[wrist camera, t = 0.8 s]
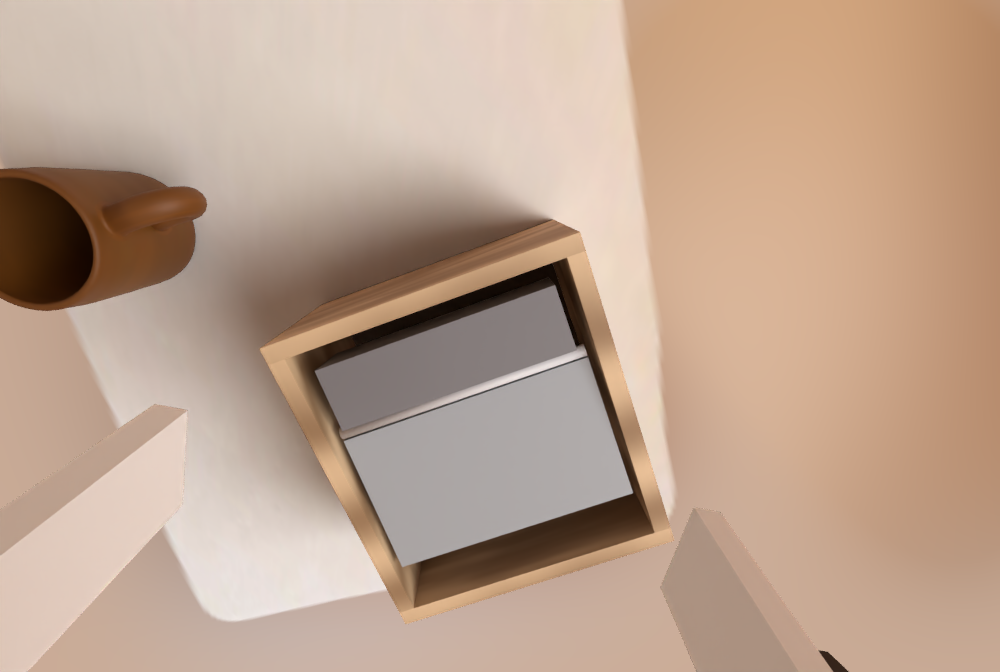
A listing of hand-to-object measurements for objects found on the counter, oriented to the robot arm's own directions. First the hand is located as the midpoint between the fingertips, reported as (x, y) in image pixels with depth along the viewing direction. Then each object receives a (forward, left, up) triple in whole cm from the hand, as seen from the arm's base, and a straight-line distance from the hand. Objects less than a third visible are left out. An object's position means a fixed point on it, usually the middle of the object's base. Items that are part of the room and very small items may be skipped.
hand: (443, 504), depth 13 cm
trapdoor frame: (+7, -2, -25) cm, 26 cm away
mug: (-12, -18, -25) cm, 33 cm away
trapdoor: (+6, -2, -18) cm, 19 cm away
